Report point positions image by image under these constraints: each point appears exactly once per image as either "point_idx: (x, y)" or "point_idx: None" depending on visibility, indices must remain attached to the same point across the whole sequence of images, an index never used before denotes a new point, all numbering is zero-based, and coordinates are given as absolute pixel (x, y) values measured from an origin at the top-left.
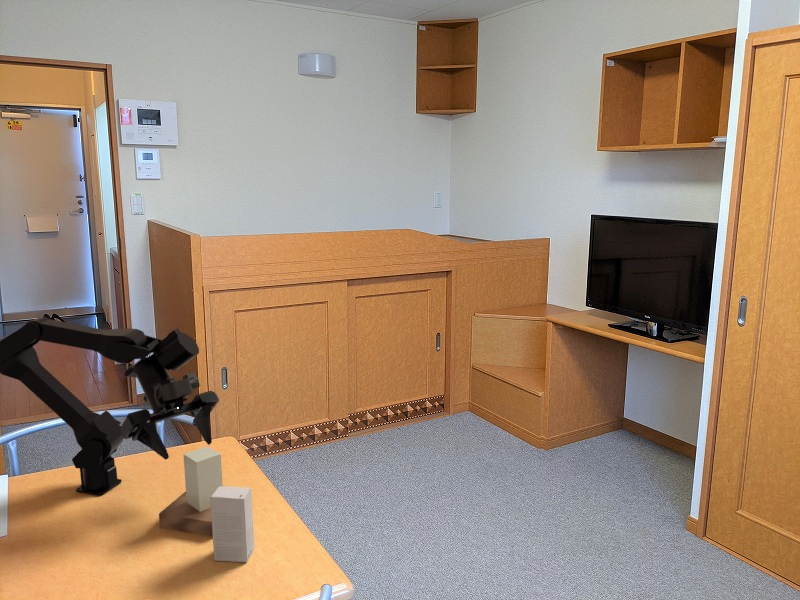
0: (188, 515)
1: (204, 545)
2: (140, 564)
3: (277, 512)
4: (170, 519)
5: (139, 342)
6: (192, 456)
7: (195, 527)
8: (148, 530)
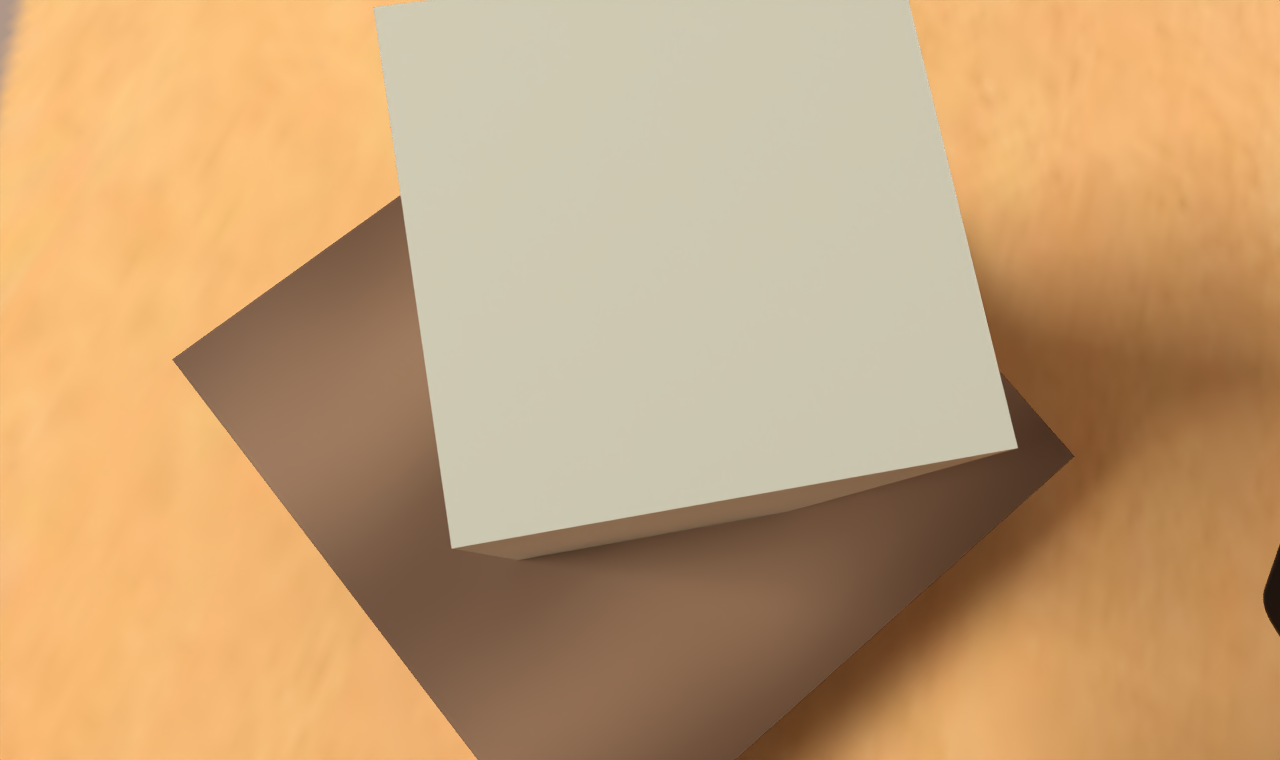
0: None
1: None
2: (1226, 67)
3: (83, 127)
4: None
5: None
6: (888, 232)
7: None
8: (1097, 490)
